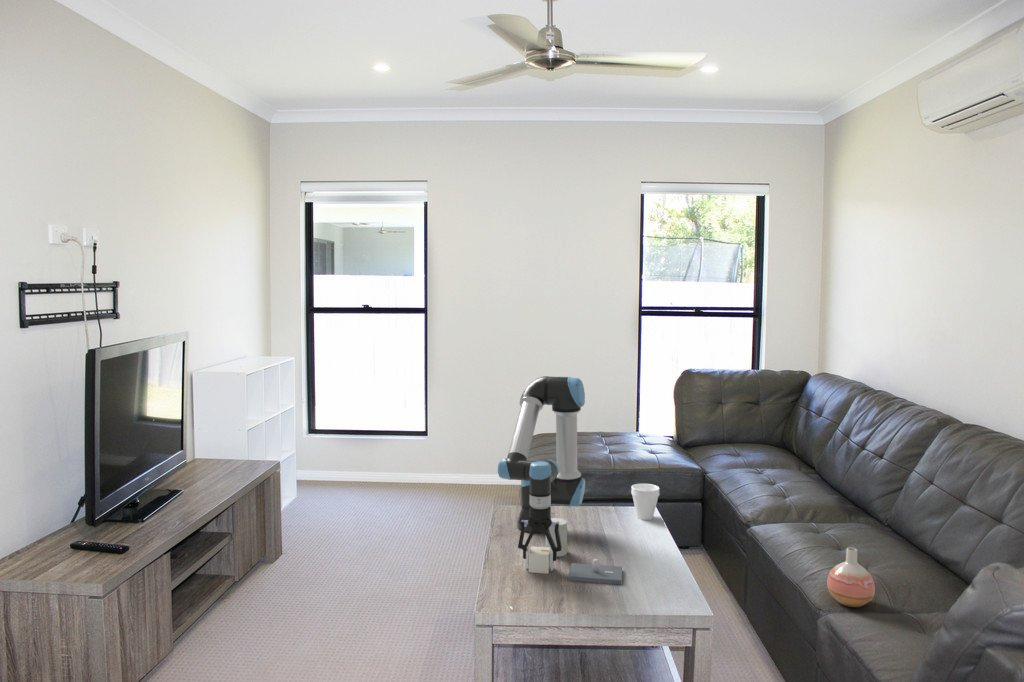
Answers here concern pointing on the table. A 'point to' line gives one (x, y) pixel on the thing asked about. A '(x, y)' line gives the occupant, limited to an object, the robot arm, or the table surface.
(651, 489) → the cup
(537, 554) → the cream cube
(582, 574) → the shaft plate
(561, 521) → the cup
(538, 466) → the robot arm
